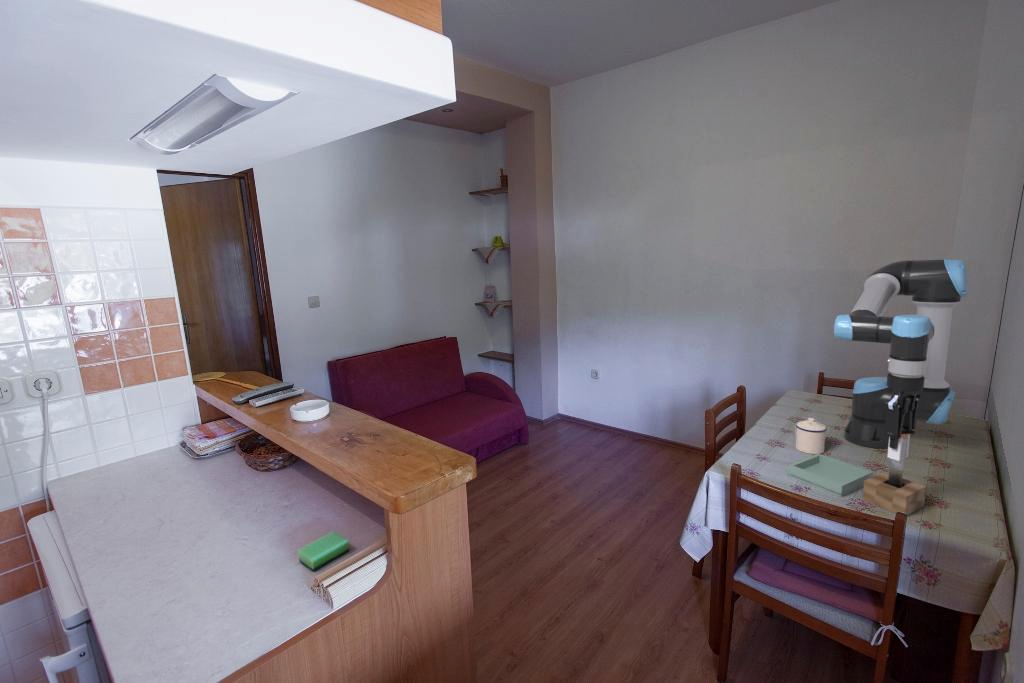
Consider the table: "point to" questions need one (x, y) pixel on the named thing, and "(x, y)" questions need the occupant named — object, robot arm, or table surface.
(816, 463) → the tray
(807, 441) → the teacup with lid
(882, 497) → the block
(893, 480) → the pin
